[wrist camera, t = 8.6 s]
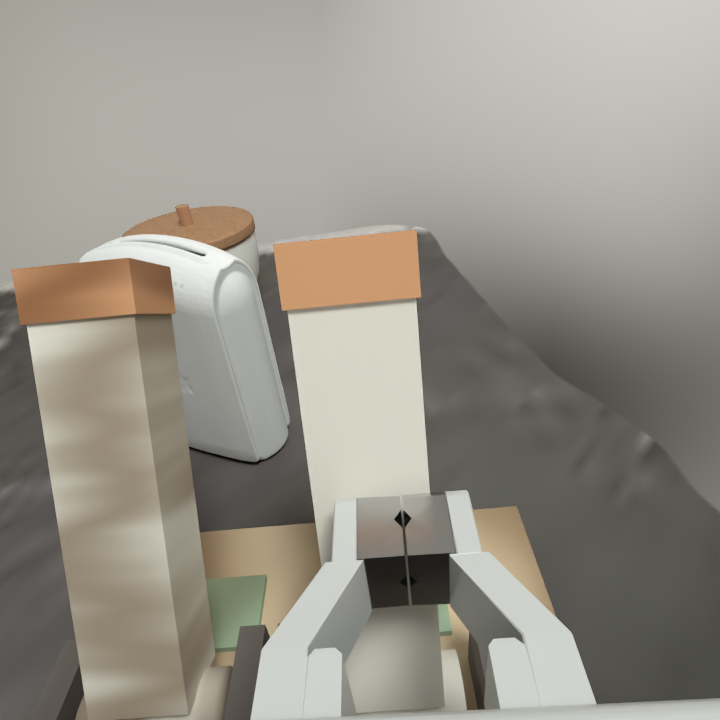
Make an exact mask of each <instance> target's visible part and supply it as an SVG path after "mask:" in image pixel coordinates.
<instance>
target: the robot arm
mask: <svg viewBox="0 0 720 720" xmlns="http://www.w3.org/2000/svg"><path fill="white" fill-rule="evenodd" d="M402 501H403V514H404V526H405V538H406V548H407V558H408V570H409V580H410V590H411V600H412V605H434V604H450V607H451V608H452V609H453V611H454V612H455V613H456V615H457V616H458V617H459V619H460V620H461V621H462V623H463V624H464V625H465V627H466V628H467V629H468V631H469V632H470V633H471V635H472V636H473V638H474V639H475V640H476V642H477V643H478V644H479V646H480V647H481V648H482V650H483V651H484V652H485V654H486V655H487V656H488V658H487V671H486V684H485V697H484V706H485V709H484V710H464V711H443V712H423V713H402V714H382V715H361V716H356V709H355V705H354V701H353V697H352V692H351V688H350V684H349V680H348V676H347V672H346V668H345V663H346V661H347V659H348V657H349V655H350V653H351V651H352V649H353V647H354V645H355V643H356V641H357V639H358V637H359V636H360V634H361V632H362V630H363V628H364V626H365V624H366V622H367V620H368V618H369V616H370V614H371V612H372V609H374V608H385V607H396V606H408V605H409V597H408V585H407V572H406V560H405V549H404V537H403V526H402V515H401V505H400V496H389V497H368V498H351V499H336V501H335V504H334V519H333V538H332V557H331V562H325V563H324V564H323V566H322V567H321V569H320V570H319V571H318V573H317V574H316V575H315V577H314V578H313V580H312V581H311V582H310V584H309V585H308V586H307V588H306V589H305V591H304V592H303V593H302V595H301V596H300V597H299V599H298V600H297V602H296V603H295V604H294V606H293V607H292V608H291V610H290V611H289V613H288V614H287V615H286V617H285V618H284V619H283V621H282V622H281V624H280V625H279V626H278V628H277V629H276V630H275V632H274V633H273V635H272V636H271V637H270V639H269V640H268V641H267V643H266V644H265V646H264V647H263V648H262V650H261V656H260V663H259V669H258V675H257V681H256V688H255V694H254V700H253V706H252V713H251V719H250V720H720V698H712V699H691V700H670V701H650V702H629V703H608V704H596V701H595V698H594V695H593V692H592V690H591V687H590V684H589V681H588V678H587V675H586V672H585V669H584V667H583V664H582V661H581V658H580V655H579V652H578V649H577V646H576V644H575V641H574V638H573V635H572V633H571V632H570V631H569V630H568V629H567V628H566V627H565V626H564V625H563V624H562V623H561V622H560V621H559V620H558V619H557V618H556V617H555V616H554V615H553V614H552V613H551V612H550V611H549V610H548V609H547V608H546V607H545V606H544V605H543V604H542V603H541V602H540V601H539V600H538V599H537V598H536V597H535V596H534V595H533V594H532V593H531V592H530V591H529V590H528V589H527V588H526V587H525V586H524V585H523V584H522V583H521V582H520V581H519V580H518V579H516V578H515V577H514V576H513V575H512V574H511V573H510V572H509V571H508V570H507V569H506V568H505V567H504V566H503V565H502V564H501V563H500V562H499V561H498V560H497V559H496V558H495V557H494V556H493V555H492V554H491V553H490V552H482V548H481V543H480V539H479V535H478V531H477V526H476V522H475V518H474V514H473V509H472V505H471V501H470V497H469V493H468V492H467V490H462V491H449V492H445V493H444V492H432V493H420V494H409V495H402Z"/></svg>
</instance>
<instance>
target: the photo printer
mask: <svg viewBox="0 0 720 720" xmlns="http://www.w3.org/2000/svg"><path fill="white" fill-rule="evenodd" d="M120 258H132V259H136V260H141V261H145V262H150V263H154V264H159V265H163V266H168V267H170V270H171V278H172V286H173V294H174V302H175V309H176V314H172V322H173V330H174V338H175V345H176V353H177V361H178V369H179V376H180V384H181V392H182V400H183V407H184V415H185V423H186V431H187V438H188V446H189V447H193V448H196V449H199V450H203V451H206V452H210V453H214V454H218V455H221V456H225V457H229V458H234V459H238V460H243V461H250V462H257V461H259V459H260V460H264V459H267V458H269V457H270V456H272V455H274V454H275V453H276V452H277V451H278V450H280V449H281V448H282V446H283V445H284V444H285V442H286V440H287V437H288V428H287V426H288V425H289V423H290V419H289V413H288V408H287V404H286V400H285V396H284V391H283V388H282V383H281V380H280V375H279V371H278V367H277V363H276V359H275V354H274V350H273V346H272V342H271V337H270V334H269V329H268V325H267V320H266V316H265V312H264V308H263V304H262V299H261V295H260V291H259V287H258V283H257V280H256V277H255V275H254V273H253V272H252V270H251V268H250V267H249V266H248V265H247V264H246V263H245V262H244V261H242V260H240V259H239V258H237V257H235V256H233V255H231V254H229V253H227V252H225V251H223V250H221V249H218V248H216V247H213V246H210V245H207V244H204V243H201V242H198V241H194V240H190V239H186V238H181V237H175V236H168V235H156V234H141V235H130V236H125V237H121V238H118V239H115V240H112V241H109V242H107V243H105V244H103V245H102V246H100V247H97V248H95V249H92V250H91V251H89V252H87V253H86V254H84V255H83V256H82V257H81V259H80V261H79V263H81V262H91V261H101V260H111V259H120Z"/></svg>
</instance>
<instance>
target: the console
mask: <svg viewBox="0 0 720 720" xmlns="http://www.w3.org/2000/svg"><path fill="white" fill-rule="evenodd" d="M12 275H13V282H14V288H15V294H16V301H17V307H18V313H19V320H20V325H27V330H28V336H29V343H30V349H31V356H32V362H33V368H34V375H35V381H36V388H37V394H38V400H39V407H40V413H41V420H42V426H43V433H44V439H45V445H46V452H47V458H48V465H49V471H50V477H51V484H52V490H53V497H54V503H55V510H56V516H57V522H58V529H59V535H60V542H61V548H62V554H63V561H64V567H65V574H66V580H67V587H68V593H69V599H70V606H71V612H72V619H73V625H74V631H75V638H76V639H66V641H65V643H64V645H63V647H62V649H61V651H60V654H59V656H58V658H57V660H56V662H55V664H54V667H53V669H52V671H51V673H50V675H49V678H48V680H47V682H46V684H45V686H44V688H43V691H42V693H41V695H40V697H39V699H38V701H37V704H36V706H35V708H34V710H33V712H32V715H31V717H30V719H29V720H250V719H251V713H252V706H253V700H254V694H255V688H256V681H257V675H258V669H259V663H260V656H261V650H262V648H263V647H264V646H265V644H266V643H267V641H268V640H269V639H270V637H271V636H272V635H273V633H274V632H275V630H276V629H277V628H278V626H279V625H280V624H281V622H282V621H283V619H284V618H285V617H286V615H287V614H288V613H289V611H290V610H291V608H292V607H293V606H294V604H295V603H296V602H297V600H298V599H299V597H300V596H301V595H302V593H303V592H304V591H305V589H306V588H307V586H308V585H309V584H310V582H311V581H312V580H313V578H314V577H315V575H316V574H317V573H318V571H319V570H320V569H321V560H320V552H319V545H318V537H317V530H316V523H307V524H294V525H282V526H270V527H258V528H246V529H233V530H221V531H209V532H200V531H199V524H198V516H197V508H196V500H195V493H194V485H193V477H192V469H191V462H190V454H189V446H188V438H187V431H186V423H185V415H184V407H183V400H182V392H181V384H180V376H179V369H178V361H177V353H176V345H175V338H174V330H173V322H172V314H176V309H175V302H174V294H173V286H172V278H171V270H170V267H168V266H163V265H159V264H154V263H150V262H145V261H141V260H136V259H132V258H120V259H111V260H101V261H91V262H81V263H71V264H61V265H51V266H42V267H31V268H22V269H12ZM473 514H474V518H475V522H476V526H477V531H478V535H479V539H480V543H481V548H482V552H490V553H491V554H492V555H493V556H494V557H495V558H496V559H497V560H498V561H499V562H500V563H501V564H502V565H503V566H504V567H505V568H506V569H507V570H508V571H509V572H510V573H511V574H512V575H513V576H514V577H515V578H516V579H518V580H519V581H520V582H521V583H522V584H523V585H524V586H525V587H526V588H527V589H528V590H529V591H530V592H531V593H532V594H533V595H534V596H535V597H536V598H537V599H538V600H539V601H540V602H541V603H542V604H543V605H544V606H545V607H546V608H547V609H548V610H549V611H550V612H551V613H552V614H553V615H554V616H555V617H556V615H555V612H554V610H553V607H552V604H551V601H550V598H549V596H548V593H547V590H546V587H545V584H544V582H543V579H542V576H541V573H540V570H539V568H538V565H537V562H536V559H535V556H534V554H533V551H532V548H531V545H530V542H529V540H528V537H527V534H526V531H525V528H524V526H523V523H522V520H521V517H520V515H519V512H518V509H517V506H514V507H502V508H490V509H477V510H473ZM438 615H439V629H440V643H441V650H448V649H455V650H456V653H457V656H458V660H459V665H460V669H461V675H462V680H463V687H464V693H465V700H466V707H467V710H484V709H485V706H484V697H485V684H486V671H487V658H488V656H487V655H486V654H485V652H484V651H483V650H482V648H481V647H480V646H479V644H478V643H477V642H476V640H475V639H474V638H473V636H472V635H471V633H470V632H469V631H468V629H467V628H466V627H465V625H464V624H463V623H462V621H461V620H460V619H459V617H458V616H457V615H456V613H455V612H454V611H453V609H452V608H451V607H450V604H438Z"/></svg>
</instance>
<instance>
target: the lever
mask: <svg viewBox="0 0 720 720" xmlns="http://www.w3.org/2000/svg"><path fill="white" fill-rule="evenodd" d="M273 247H274V255H275V262H276V270H277V277H278V284H279V292H280V299H281V307H282V310H287V311H288V318H289V326H290V333H291V341H292V348H293V356H294V364H295V371H296V379H297V386H298V394H299V401H300V409H301V416H302V424H303V431H304V439H305V447H306V454H307V462H308V469H309V477H310V484H311V492H312V499H313V507H314V514H315V522H316V530H317V537H318V545H319V552H320V560H321V567H322V566H323V564H324V563H325V562H331V557H332V538H333V519H334V504H335V501H336V499H351V498H368V497H389V496H400V505H401V515H402V526H403V537H404V549H405V560H406V572H407V585H408V597H409V605H408V606H396V607H385V608H374V609H372V612H371V614H370V616H369V618H368V620H367V622H366V624H365V626H364V628H363V630H362V632H361V634H360V636H359V637H358V639H357V641H356V643H355V645H354V647H353V649H352V651H351V653H350V655H349V657H348V659H347V661H346V663H345V668H346V672H347V676H348V680H349V684H350V688H351V692H352V697H353V701H354V705H355V709H356V716H361V715H382V714H402V713H423V712H443V711H464V710H467V707H466V700H465V693H464V687H463V680H462V675H461V669H460V665H459V660H458V656H457V653H456V650H455V649H448V650H441V643H440V629H439V615H438V604H434V605H412V600H411V590H410V580H409V570H408V558H407V548H406V538H405V526H404V514H403V501H402V495H409V494H420V493H430V488H429V474H428V460H427V446H426V432H425V418H424V404H423V390H422V376H421V362H420V348H419V334H418V320H417V306H416V298H417V297H421V290H420V275H419V261H418V246H417V232H416V230H410V231H400V232H390V233H380V234H370V235H360V236H350V237H340V238H330V239H320V240H310V241H300V242H290V243H281V244H273Z"/></svg>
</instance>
